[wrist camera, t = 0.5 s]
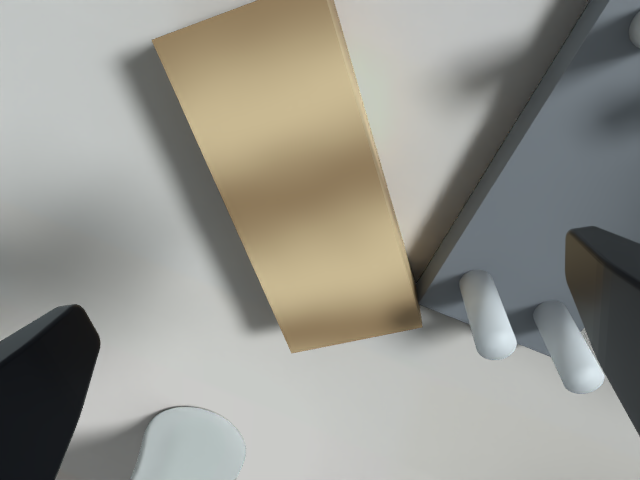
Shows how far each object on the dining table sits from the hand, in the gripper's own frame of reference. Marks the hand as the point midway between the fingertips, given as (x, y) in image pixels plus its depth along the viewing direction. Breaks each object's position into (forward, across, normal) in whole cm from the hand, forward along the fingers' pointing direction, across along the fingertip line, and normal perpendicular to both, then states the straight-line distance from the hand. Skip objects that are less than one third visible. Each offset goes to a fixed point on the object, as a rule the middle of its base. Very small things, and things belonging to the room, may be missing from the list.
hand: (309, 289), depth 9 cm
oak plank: (+13, +2, +3) cm, 13 cm away
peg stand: (+12, -9, +5) cm, 16 cm away
